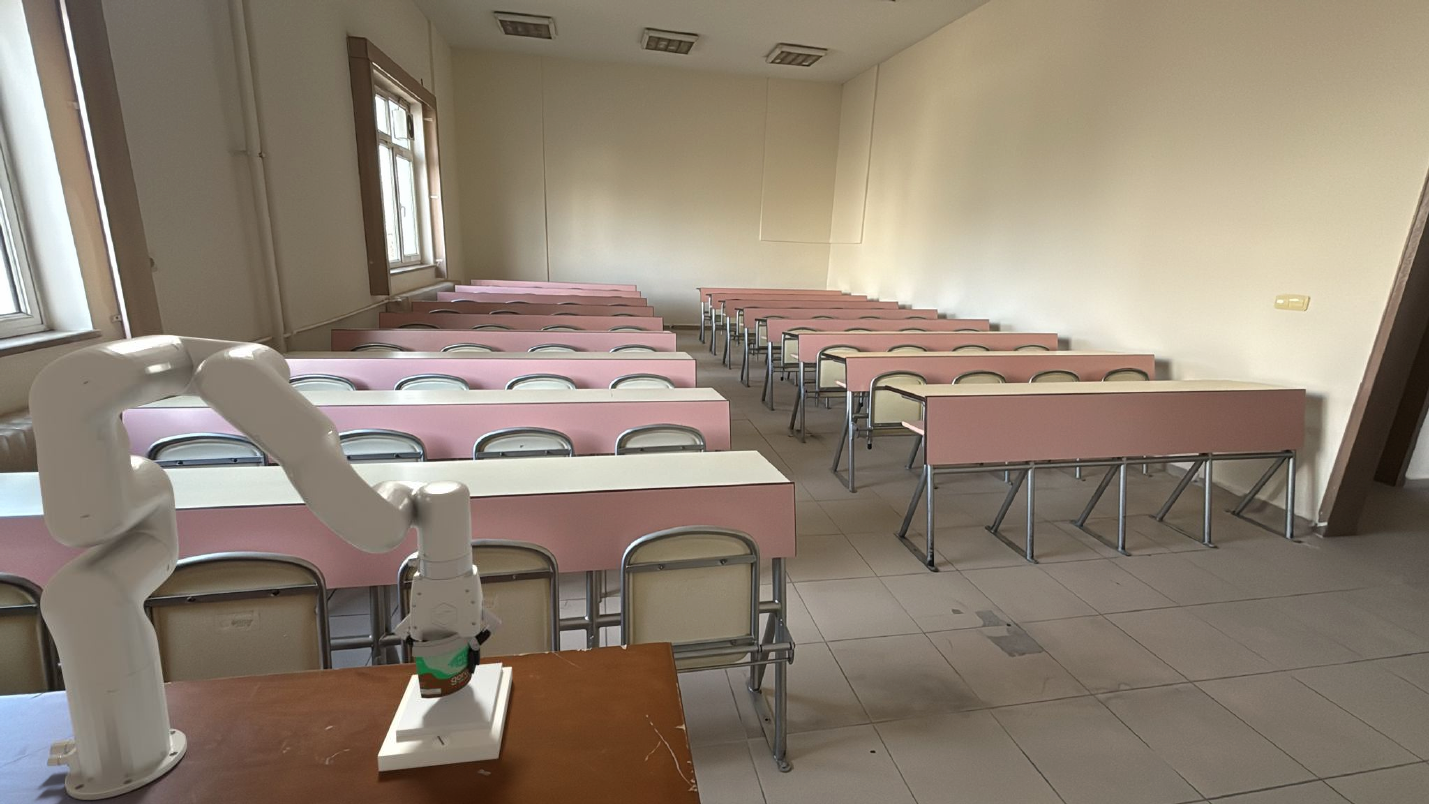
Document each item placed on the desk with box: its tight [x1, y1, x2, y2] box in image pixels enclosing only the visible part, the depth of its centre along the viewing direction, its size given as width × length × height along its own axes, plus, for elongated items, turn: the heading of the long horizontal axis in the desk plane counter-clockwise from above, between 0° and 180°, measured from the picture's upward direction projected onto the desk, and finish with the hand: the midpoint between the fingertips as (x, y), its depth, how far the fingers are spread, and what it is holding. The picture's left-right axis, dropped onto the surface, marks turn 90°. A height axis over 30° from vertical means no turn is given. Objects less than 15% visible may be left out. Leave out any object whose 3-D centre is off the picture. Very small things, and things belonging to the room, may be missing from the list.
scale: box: [377, 662, 513, 772], centre depth 101 cm, size 16×19×4 cm
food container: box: [411, 633, 472, 699], centre depth 101 cm, size 12×6×10 cm, turn 170°
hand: (450, 669), depth 101 cm, fingers closed on food container, 6 cm apart
